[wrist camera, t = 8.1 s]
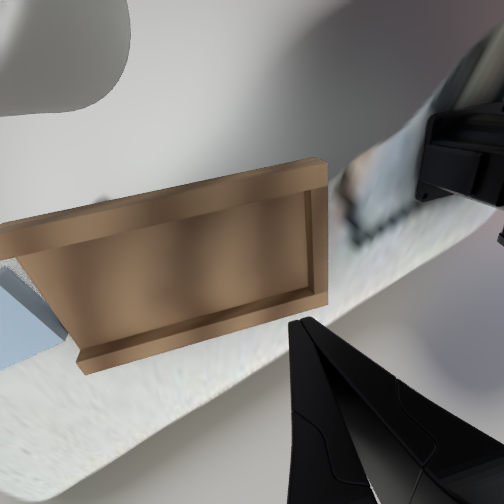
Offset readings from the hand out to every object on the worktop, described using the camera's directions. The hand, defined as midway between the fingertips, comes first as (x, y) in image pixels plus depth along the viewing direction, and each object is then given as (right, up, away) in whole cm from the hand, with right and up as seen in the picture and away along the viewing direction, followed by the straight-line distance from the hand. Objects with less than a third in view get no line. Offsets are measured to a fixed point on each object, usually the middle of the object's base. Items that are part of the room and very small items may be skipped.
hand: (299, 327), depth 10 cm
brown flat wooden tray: (-6, +2, +11) cm, 13 cm away
